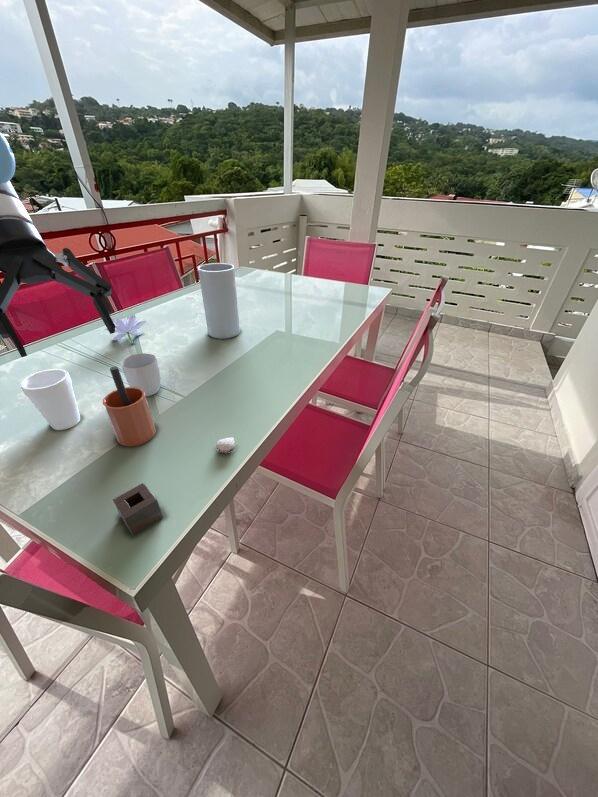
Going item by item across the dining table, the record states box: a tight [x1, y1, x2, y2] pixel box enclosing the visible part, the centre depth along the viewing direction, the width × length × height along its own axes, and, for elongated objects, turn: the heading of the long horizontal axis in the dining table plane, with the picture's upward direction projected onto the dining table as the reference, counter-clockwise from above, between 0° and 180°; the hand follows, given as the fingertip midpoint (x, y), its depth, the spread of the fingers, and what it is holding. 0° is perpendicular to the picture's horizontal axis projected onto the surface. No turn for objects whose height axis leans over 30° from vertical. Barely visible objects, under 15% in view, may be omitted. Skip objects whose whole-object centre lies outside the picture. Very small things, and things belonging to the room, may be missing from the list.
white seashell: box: [215, 437, 236, 454], centre depth 76 cm, size 4×5×2 cm
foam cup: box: [19, 368, 81, 431], centre depth 80 cm, size 10×9×13 cm
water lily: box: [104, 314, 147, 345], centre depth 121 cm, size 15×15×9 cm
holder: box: [112, 482, 164, 537], centre depth 60 cm, size 6×6×5 cm
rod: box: [109, 365, 131, 407], centre depth 75 cm, size 2×2×18 cm
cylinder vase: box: [197, 262, 241, 340], centre depth 124 cm, size 12×12×25 cm
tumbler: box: [102, 386, 157, 447], centre depth 77 cm, size 9×9×11 cm
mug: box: [120, 352, 162, 397], centre depth 95 cm, size 13×9×10 cm
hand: (71, 341), depth 56 cm, fingers open, 13 cm apart
